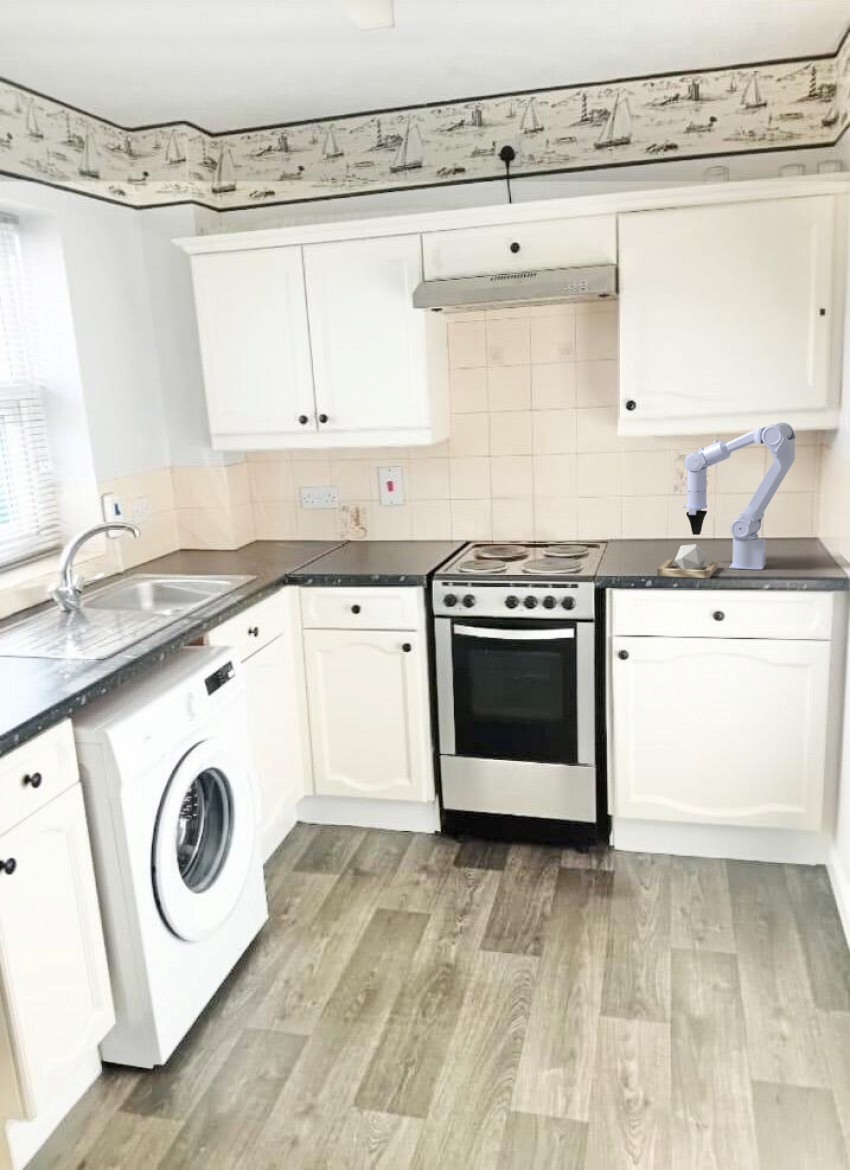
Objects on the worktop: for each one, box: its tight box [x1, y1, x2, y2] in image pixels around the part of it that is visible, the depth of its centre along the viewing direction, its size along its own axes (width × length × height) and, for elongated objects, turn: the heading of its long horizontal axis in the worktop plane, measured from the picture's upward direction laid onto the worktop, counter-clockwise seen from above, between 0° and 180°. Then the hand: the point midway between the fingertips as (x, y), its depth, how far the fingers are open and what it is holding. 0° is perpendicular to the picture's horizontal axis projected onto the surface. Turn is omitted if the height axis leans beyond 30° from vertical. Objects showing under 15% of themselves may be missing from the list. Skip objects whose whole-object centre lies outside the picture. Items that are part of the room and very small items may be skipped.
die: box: [674, 543, 708, 570], centre depth 273 cm, size 8×9×10 cm
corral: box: [656, 559, 719, 579], centre depth 272 cm, size 15×14×2 cm
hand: (696, 534), depth 282 cm, fingers closed
